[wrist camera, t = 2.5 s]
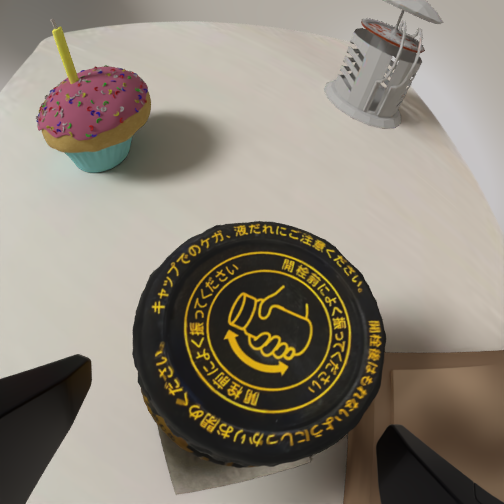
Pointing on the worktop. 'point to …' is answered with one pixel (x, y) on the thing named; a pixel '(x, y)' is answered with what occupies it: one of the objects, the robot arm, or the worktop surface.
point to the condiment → (254, 352)
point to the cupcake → (93, 112)
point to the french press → (380, 67)
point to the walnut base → (435, 417)
